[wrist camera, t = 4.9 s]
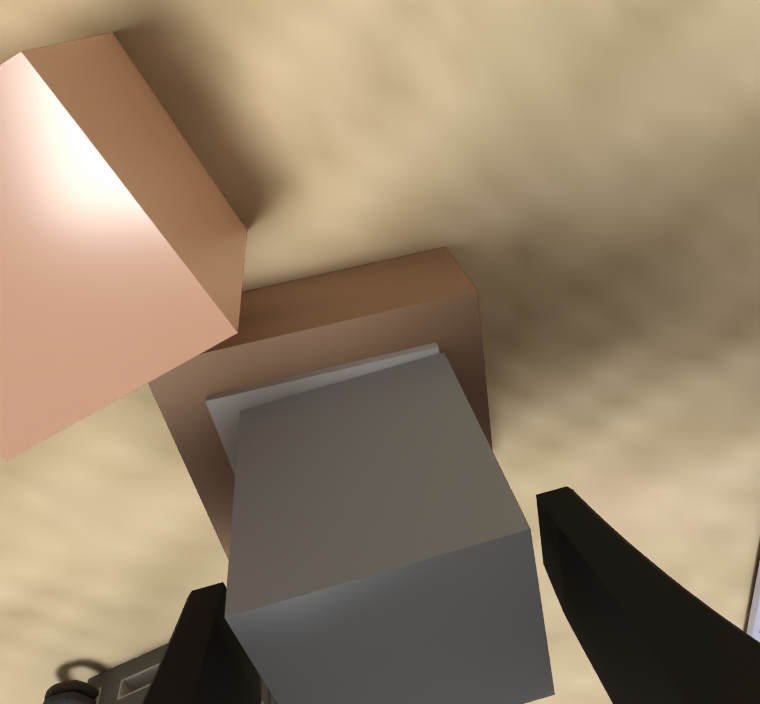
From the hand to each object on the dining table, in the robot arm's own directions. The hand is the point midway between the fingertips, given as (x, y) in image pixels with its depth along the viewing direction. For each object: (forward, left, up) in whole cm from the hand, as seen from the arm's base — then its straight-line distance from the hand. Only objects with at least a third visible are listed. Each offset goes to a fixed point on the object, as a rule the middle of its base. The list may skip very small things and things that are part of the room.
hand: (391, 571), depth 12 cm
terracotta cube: (+7, +4, -6) cm, 10 cm away
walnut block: (0, +1, -6) cm, 6 cm away
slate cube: (0, 0, -3) cm, 3 cm away
